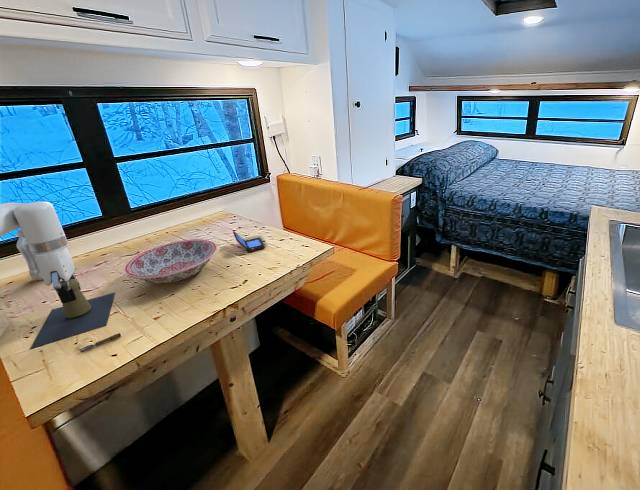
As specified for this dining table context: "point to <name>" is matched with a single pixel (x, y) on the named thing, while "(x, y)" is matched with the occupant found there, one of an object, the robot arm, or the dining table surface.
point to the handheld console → (250, 243)
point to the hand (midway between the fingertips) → (71, 295)
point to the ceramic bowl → (171, 261)
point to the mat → (74, 321)
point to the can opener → (102, 341)
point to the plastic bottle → (28, 256)
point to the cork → (76, 301)
